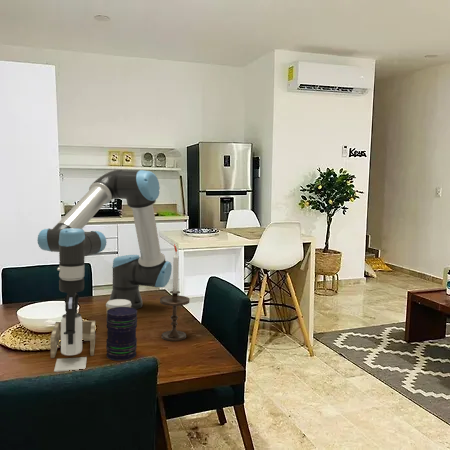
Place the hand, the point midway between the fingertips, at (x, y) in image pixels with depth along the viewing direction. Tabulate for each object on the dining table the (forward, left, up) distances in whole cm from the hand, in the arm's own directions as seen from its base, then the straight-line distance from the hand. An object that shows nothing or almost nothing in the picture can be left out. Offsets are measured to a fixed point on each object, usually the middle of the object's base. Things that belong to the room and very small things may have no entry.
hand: (71, 349), depth 145 cm
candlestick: (-16, +35, -4) cm, 39 cm away
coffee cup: (-23, +15, -4) cm, 28 cm away
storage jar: (-2, +16, -4) cm, 16 cm away
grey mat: (+4, 0, -4) cm, 5 cm away
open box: (-10, 0, -4) cm, 11 cm away
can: (0, 0, -1) cm, 1 cm away
